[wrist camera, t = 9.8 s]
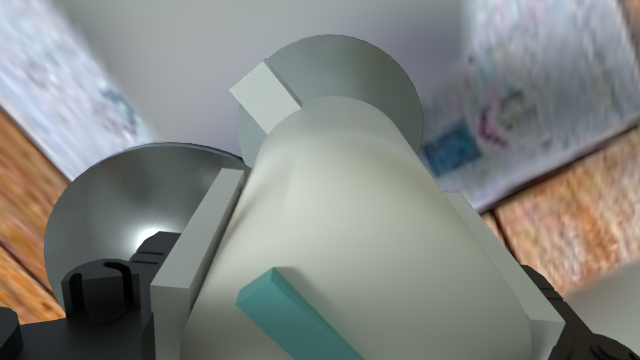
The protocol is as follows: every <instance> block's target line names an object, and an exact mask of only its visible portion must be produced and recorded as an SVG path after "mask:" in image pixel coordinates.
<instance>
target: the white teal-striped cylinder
mask: <svg viewBox="0 0 640 360" xmlns="http://www.w3.org/2000/svg"><path fill="white" fill-rule="evenodd" d="M229 91H230V92H231V93H232V94H233V95H234V97H235V98H236V99H237V100H238V101H239V102H240V103H241V105H242V106H243V107H244V108H245V109H246V110H247V111H248V113H249V114H250V115H251V116H252V117H253V118H254V120H255V121H256V122H257V123H258V124H259V125H260V126H261V128H262V129H263V130H264V131H265V132H266V133H267V135H266V137H265V139H264V141H263V144H262V146H261V148H260V151H259V153H258V155H257V158H256V160H255V162H254V165H253V167H252V170H251V172H250V174H249V177H248V179H247V181H246V184H245V186H244V188H243V191H242V193H241V196H240V198H239V200H238V203H237V205H236V207H235V210H234V212H233V214H232V217H231V219H230V222H229V224H228V226H227V229H226V231H225V233H224V236H223V238H222V241H221V243H220V245H219V248H218V250H217V252H216V255H215V257H214V259H213V262H212V264H211V267H210V269H209V271H208V274H207V276H206V278H205V281H204V283H203V285H202V288H201V290H200V293H199V295H198V297H197V300H196V302H195V304H194V307H193V309H192V312H191V314H190V316H189V319H188V321H187V323H186V326H185V330H184V334H183V338H182V342H181V350H180V360H531V357H532V348H531V334H530V329H529V324H528V320H527V317H526V315H525V312H524V310H523V307H522V305H521V302H520V301H519V299H518V297H517V296H516V294H515V293H514V291H513V289H512V288H511V286H510V285H509V283H508V282H507V281H506V279H505V278H504V276H503V275H502V274H501V272H500V271H499V269H498V268H497V267H496V265H495V264H494V262H493V261H492V260H491V258H490V257H489V255H488V254H487V253H486V251H485V250H484V248H483V247H482V246H481V244H480V243H479V241H478V240H477V239H476V237H475V236H474V234H473V233H472V232H471V230H470V229H469V227H468V226H467V225H466V223H465V222H464V220H463V219H462V218H461V216H460V215H459V213H458V212H457V211H456V209H455V208H454V206H453V205H452V204H451V202H450V201H449V199H448V198H447V197H446V195H445V194H444V192H443V191H442V190H441V188H440V187H439V185H438V184H437V183H436V181H435V180H434V178H433V177H432V176H431V174H430V173H429V172H428V170H427V169H426V167H425V166H424V165H423V163H422V162H421V160H420V159H419V158H418V156H417V155H416V153H415V152H414V151H413V149H412V148H411V146H410V145H409V144H408V142H407V141H406V139H405V138H404V137H403V135H402V134H401V132H400V131H399V130H398V128H397V127H396V125H395V124H394V123H393V122H392V121H391V120H390V118H389V117H387V116H386V115H385V114H384V113H383V112H382V111H380V110H379V109H377V108H376V107H374V106H372V105H370V104H368V103H366V102H364V101H361V100H358V99H355V98H350V97H345V96H325V97H319V98H314V99H311V100H308V101H305V102H302V101H301V100H300V99H299V98H298V97H297V95H296V94H295V93H294V92H293V90H292V89H291V88H290V87H289V85H288V84H287V83H286V82H285V81H284V79H283V78H282V77H281V76H280V74H279V73H278V72H277V71H276V69H275V68H274V67H273V66H272V64H271V63H270V62H269V61H268V60H267V58H266V59H265V60H264V61H262V62H261V63H260V64H259V65H258V66H257V67H256V68H254V69H253V70H252V71H251V72H250V73H248V74H247V75H246V76H245V77H244V78H243V79H241V80H240V81H239V82H238V83H237V84H236V85H234V86H233V87H232V88H231V89H230V90H229Z"/></svg>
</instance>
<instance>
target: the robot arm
mask: <svg viewBox="0 0 640 360" xmlns="http://www.w3.org/2000/svg"><path fill="white" fill-rule="evenodd" d="M243 183H244V170H236V169H226V168H222V169H221V171H220V172H219V174H218V176H217V177H216V179H215V181H214V182H213V184H212V185H211V187H210V189H209V190H208V192H207V194H206V195H205V197H204V198H203V200H202V202H201V203H200V205H199V207H198V208H197V210H196V211H195V213H194V215H193V216H192V218H191V219H190V221H189V223H188V224H187V226H186V228H185V229H184V231H183V232H182V233H176V232H166V231H158V232H157V233H155V234H153V235H151V236H150V237H148V238H146V239H145V240H144V241H143V242H142V244H141V245H140V246H139V247H138V249H137V250H136V253H134V254H133V255H132V257H131V258H130V259H129V261H126V260H122V259H99V260H94V261H90V262H87V263H84V264H82V265H79V266H77V267H75V268H74V269H73V270H71V271H70V272H68V273H67V274H66V275H65V277H64V278H63V280H62V281H61V287H62V294H63V301H64V307H65V314H66V318H62V319H58V320H53V321H45V322H38V323H31V324H23V325H20V324H19V320H18V316H17V313H16V312H15V311H13V310H11V309H10V308H7V307H0V360H180V350H181V342H182V338H183V334H184V330H185V326H186V323H187V321H188V319H189V316H190V314H191V312H192V309H193V307H194V304H195V302H196V300H197V297H198V295H199V293H200V290H201V288H202V285H203V283H204V281H205V278H206V276H207V274H208V271H209V269H210V267H211V264H212V262H213V259H214V257H215V255H216V252H217V250H218V248H219V245H220V243H221V241H222V238H223V236H224V233H225V231H226V229H227V226H228V224H229V222H230V219H231V217H232V214H233V212H234V210H235V207H236V205H237V203H238V200H239V198H240V196H241V193H242V191H243ZM443 192H444V191H443ZM444 194H445V195H446V197H447V198H448V199H449V201H450V202H451V204H452V205H453V206H454V208H455V209H456V211H457V212H458V213H459V215H460V216H461V218H462V219H463V220H464V222H465V223H466V225H467V226H468V227H469V229H470V230H471V232H472V233H473V234H474V236H475V237H476V239H477V240H478V241H479V243H480V244H481V246H482V247H483V248H484V250H485V251H486V253H487V254H488V255H489V257H490V258H491V260H492V261H493V262H494V264H495V265H496V267H497V268H498V269H499V271H500V272H501V274H502V275H503V276H504V278H505V279H506V281H507V282H508V283H509V285H510V286H511V288H512V289H513V291H514V293H515V294H516V296H517V297H518V299H519V301H520V302H521V305H522V307H523V310H524V312H525V315H526V317H527V320H528V324H529V329H530V334H531V348H532V357H531V360H640V357H639V356H638V355H637V354H635V353H634V352H633V351H632V350H631V349H629V348H628V347H626V346H625V345H623V344H621V343H619V342H618V341H616V340H613V339H611V338H608V337H606V336H603V335H599V334H594V333H592V331H591V330H590V329H589V328H588V327H587V326H586V325H585V323H584V322H583V321H582V320H581V319H580V318H579V317H578V315H577V314H576V313H575V312H574V311H573V310H572V308H571V307H570V306H569V305H568V304H567V303H566V302H565V301H563V298H562V297H561V296H560V295H559V293H558V292H557V291H554V288H553V287H552V285H551V284H550V283H549V282H548V281H547V280H546V278H545V277H544V276H542V275H541V274H539V273H538V272H537V271H535V270H534V269H532V268H531V267H530V266H528V265H519V264H518V263H517V262H516V260H515V259H514V258H513V257H512V255H511V254H510V253H509V252H508V250H507V249H506V248H505V247H504V245H503V244H502V243H501V242H500V241H499V239H498V238H497V237H496V236H495V234H494V233H493V232H492V231H491V229H490V228H489V227H488V226H487V225H486V223H485V222H484V221H483V220H482V218H481V217H480V216H479V215H478V213H477V212H476V211H475V210H474V208H473V207H472V206H471V205H470V204H469V202H468V201H467V200H466V199H465V197H464V196H463V195H462V194H461V193H454V192H444Z"/></svg>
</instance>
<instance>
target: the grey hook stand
mask: <svg viewBox="0 0 640 360" xmlns="http://www.w3.org/2000/svg"><path fill="white" fill-rule="evenodd" d="M222 168H226V169H236V170H244V183H243V188H244V186H245V184H246V181H247V179H248V177H249V174H250V172H251V170H252V168H250V167H249V166H247V165H245V162H244V160H243V158H241V157H239V156H236V155H234V154H232V153H229V152H226V151H222V150H219V149H216V148H213V147H209V146H203V145H197V144H191V143H173V142H166V143H154V144H146V145H142V146H137V147H132V148H129V149H126V150H123V151H120V152H118V153H115V154H112V155H110V156H109V157H107V158H105V159H103V160H101V161H99V162H98V163H96V164H94V165H93V166H92V167H90V168H89V169H87V170H86V171H85V172H83V173H82V174H81V175H80V176H78V177H77V178H76V179H75V180H74V181H73V182H72V183H71V184H70V185H69V186H68V187H67V188H66V189H65V190H64V192H63V193H62V195H61V196H60V198H59V199H58V201H57V202H56V204H55V206H54V208H53V210H52V212H51V215H50V217H49V219H48V223H47V227H46V231H45V238H44V259H45V267H46V271H47V275H48V279H49V282H50V285H51V287H52V289H53V292H54V294H55V296H56V298H57V300H58V302H59V303H60V305H61V307H62V309H63V310H64V311H65V307H64V301H63V294H62V287H61V281H62V280H63V278H64V277H65V275H66V274H67V273H68V272H70V271H71V270H73V269H74V268H75V267H77V266H79V265H82V264H84V263H87V262H90V261H94V260H99V259H122V260H126V261H129V259H130V258H131V257H132V255H133V254H134V253H136V250H137V249H138V247H139V246H140V245H141V244H142V242H143V241H144V240H145V239H146V238H148V237H150V236H151V235H153V234H155V233H157V232H158V231H166V232H176V233H182V232H183V231H184V229H185V228H186V226H187V224H188V223H189V221H190V219H191V218H192V216H193V215H194V213H195V211H196V210H197V208H198V207H199V205H200V203H201V202H202V200H203V198H204V197H205V195H206V194H207V192H208V190H209V189H210V187H211V185H212V184H213V182H214V181H215V179H216V177H217V176H218V174H219V172H220V171H221V169H222Z"/></svg>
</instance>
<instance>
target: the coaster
mask: <svg viewBox="0 0 640 360" xmlns="http://www.w3.org/2000/svg"><path fill="white" fill-rule="evenodd" d="M267 60H268V61H269V62H270V63H271V64H272V66H273V67H274V68H275V69H276V71H277V72H278V73H279V74H280V76H281V77H282V78H283V79H284V81H285V82H286V83H287V84H288V85H289V87H290V88H291V89H292V90H293V92H294V93H295V94H296V95H297V97H298V98H299V99H300V100H301V101H302V102H305V101H308V100H311V99H314V98H319V97H325V96H345V97H350V98H355V99H358V100H361V101H364V102H366V103H368V104H370V105H372V106H374V107H376V108H377V109H379V110H380V111H382V112H383V113H384V114H385V115H386V116H387V117H389V118H390V120H391V121H392V122H393V123H394V124H395V125H396V127H397V128H398V130H399V131H400V132H401V134H402V135H403V137H404V138H405V139H406V141H407V142H408V144H409V145H410V146H411V148H412V149H413V151H414V152H415V153H416V155H418V152H419V149H420V145H421V140H422V133H423V117H422V109H421V105H420V101H419V97H418V94H417V92H416V90H415V87H414V85H413V83H412V82H411V80H410V78H409V77H408V75H407V74H406V72H405V71H404V70H403V69H402V67H401V66H400V65H399V64H398V63H397V62H396V61H395V60H394V59H393V58H392V57H391V56H389V55H388V54H386V53H385V52H384V51H382V50H381V49H379V48H378V47H376V46H374V45H372V44H370V43H368V42H365V41H362V40H360V39H357V38H353V37H349V36H343V35H317V36H312V37H308V38H304V39H301V40H298V41H296V42H293V43H291V44H289V45H287V46H285V47H283V48H282V49H280V50H279V51H277V52H276V53H275V54H273V55H272V56H271V57H269V58H268V59H267ZM266 135H267V133H266V132H265V131H264V130H263V129H262V128H261V126H260V125H259V124H258V123H257V122H256V121H255V120H254V118H253V117H252V116H251V115H250V114H249V113H248V111H247V110H246V109H245V108H244V107H243V106H242V105H241V103H240V106H239V110H238V117H237V137H238V144H239V148H240V152H241V155H242V158H243V160H244V162H245V165H247V166H249V167H250V168H252V167H253V165H254V162H255V160H256V158H257V155H258V153H259V151H260V148H261V146H262V144H263V141H264V139H265V137H266Z"/></svg>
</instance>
